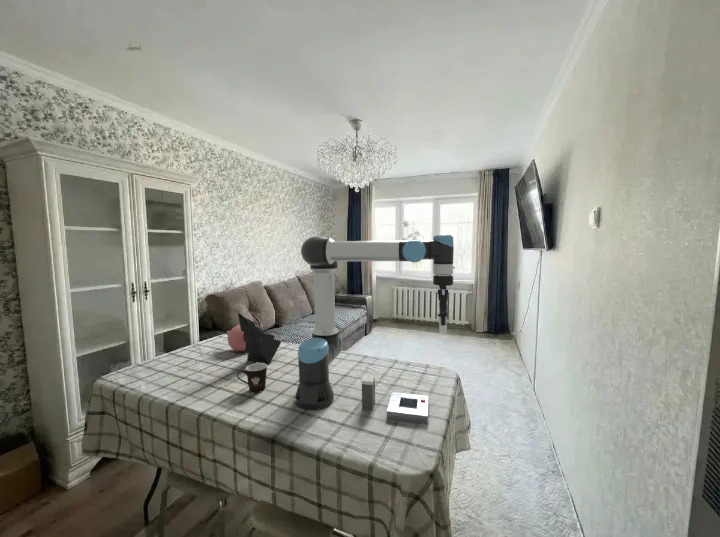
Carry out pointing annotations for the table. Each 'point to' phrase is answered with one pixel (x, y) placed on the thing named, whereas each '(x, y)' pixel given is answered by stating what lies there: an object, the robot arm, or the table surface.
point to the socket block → (408, 408)
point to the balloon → (236, 339)
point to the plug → (368, 392)
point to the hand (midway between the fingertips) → (442, 328)
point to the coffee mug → (255, 376)
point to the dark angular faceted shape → (257, 342)
